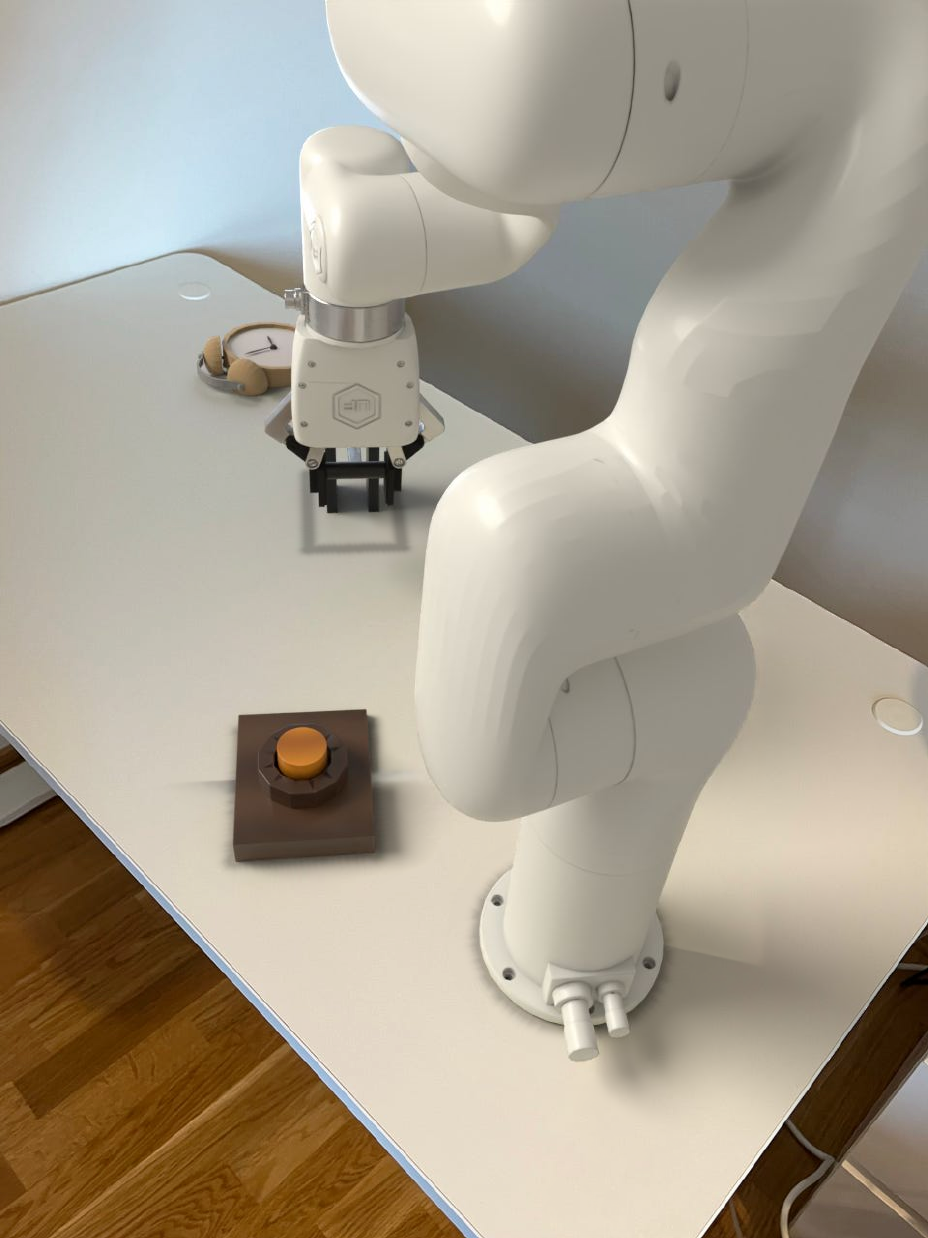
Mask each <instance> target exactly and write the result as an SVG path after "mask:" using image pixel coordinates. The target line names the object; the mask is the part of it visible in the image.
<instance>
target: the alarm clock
mask: <svg viewBox="0 0 928 1238" xmlns="http://www.w3.org/2000/svg"><path fill="white" fill-rule="evenodd" d="M295 329H296V325H294V324H291V323H284V322H279V321H278V322H277V321H256V322H251V323H245V324H242V325H239V326H237V327H234V328H232V329H231V330H229V331H228V332H227V333H225V335H224V337H223V339H222V342H221V337H220V335H213V336H211V337H209V338H208V339H207V340H206V342H205V344H204V347H203V351H201V353H198V355H197V358H198V360H197V362H196V374H197V376H198V378H199V379H200V380H201V381H202V382H203V383H206V384H207V385H209V386H212V387H215V388H221V389H228V390H229V389H231V390H232V391H233V392H235V393H237V394H239V395H244V396H251V397H253V396H254V397H255V396H260V395H262V394H264V393H266V392H267V390H268V388H281V387H283V388H284V387H291V364H292V349H293V340H294V334H295ZM203 366H205V370H206V371H207V372H208V373H206V372H204V370H202V369H201V368H202V367H203ZM223 371H224V372H223ZM223 373H224V375H225V376H226V379H222V378H218V377H217V376H222V377H223ZM209 374H210V375H209ZM214 376H215V377H214Z"/></svg>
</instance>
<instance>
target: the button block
mask: <svg viewBox="0 0 928 1238" xmlns="http://www.w3.org/2000/svg"><path fill="white" fill-rule="evenodd" d="M237 716H238V717H237V718H238V719H237V735H236V736H237V737H236V738H237V739H236V759H235V780H234V781H235V783H234V803H233V804H234V805H233V807H234V808H233V827H232V828H233V829H232V849H233V856H234V861H235V862H251V861H264V860H265V861H266V860H282V859H296V858H312V857H314V858H315V857H328V856H329V857H330V856H331V857H332V856H344V855H345V856H346V855H361V854H362V855H363V854H375V852H376V829H375V816H374V814H375V813H374V799H373V785H372V771H371V753H370V741H369V724H368V711H367V709H366V708H362V709H360V708H359V709H339V710H338V709H337V710H336V709H335V710H315V711H292V712H291V711H290V712H273V713H272V712H269V713H250V714H249V713H247V714H238V715H237ZM301 727H306V728H311V729H314V730H317V731H318V732H320V733H321V734H322V735H323V736H324V738H325V740H326V743H327V765H326V767H325V769H324V770H323V772H322V773H321V774H319V775H318V776H316V777H314V778H312V779H308V780H294V779H291V778H289V777H287V776H286V775H284V774H283V773H282V772H281V770H280V768H279V765H278V755H277V744H278V741H279V739H280V738H281V737H282V735H284V734H285V733H286V732H288V731H289V730H292V729H295V728H301Z"/></svg>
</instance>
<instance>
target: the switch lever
mask: <svg viewBox="0 0 928 1238" xmlns="http://www.w3.org/2000/svg"><path fill="white" fill-rule="evenodd" d="M361 449H362V447H360V448H346V450H347V461H336V462H326V479H337V480H356V479H357V480H358V479H359V480H360V479H365V480H366V478H379V479H383V478H385V477H386V466H385V461H384V460H379V461H366V460H364V461H363V459H362V450H361Z"/></svg>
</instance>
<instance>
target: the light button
mask: <svg viewBox="0 0 928 1238" xmlns="http://www.w3.org/2000/svg"><path fill="white" fill-rule="evenodd" d="M277 755H278V765H279V768H280V770H281V772H282V773H283V774H284V775H286V776H287V777H289V778H291V779H294V780H308V779H312V778H314V777H316V776H318V775H319V774H321V773H322V772H323V770H324V769H325V767H326V765H327V743H326V740H325V738H324V736H323V735H322V734H321V733H320V732H318V731H317V730H314V729H311V728H306V727H301V728H295V729H292V730H289V731H288V732H286V733H285V734H284V735H282V737H281V738H280V739H279V741H278V744H277Z"/></svg>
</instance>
